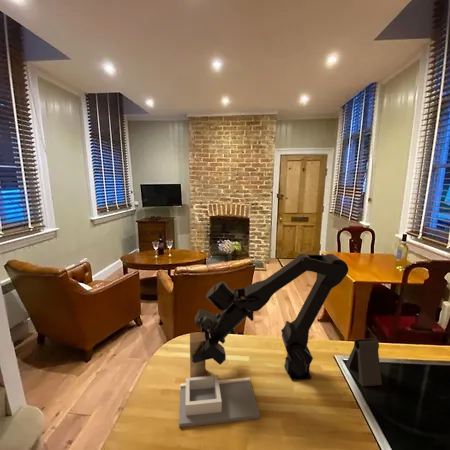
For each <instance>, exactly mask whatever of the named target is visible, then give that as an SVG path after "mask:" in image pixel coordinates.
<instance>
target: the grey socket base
mask: <svg viewBox="0 0 450 450" xmlns="http://www.w3.org/2000/svg"><path fill="white" fill-rule="evenodd" d="M179 389H180V390H179V391H180V395H179V416H178V417H179V418H178V421H179V424H178V425H179V426H178V427H179V428H186V427H196V426H205V425H213V424H222V423H223V424H224V423H231V422H232V423H233V422H239V421H247V420H257V419H261V414H260V411H259V407H258V404H257V401H256V397H255V394H254V391H253V387H252V384H251V379H250V377H239V378H229V379H219V375H218V374H217V375H205V376H204V377H192V378H190V377H186V378H185V382H182V383H180V388H179Z"/></svg>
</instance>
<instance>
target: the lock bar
mask: <svg viewBox="0 0 450 450" xmlns="http://www.w3.org/2000/svg"><path fill="white" fill-rule="evenodd" d="M203 341H204V342H205V343H206V340H205V332H201V331H200V332H189V366H190V367H189V371H190V372H189V374H190V375H189V376H190V377H189V378H192V377H204V376H206V360H204V361H201V362H197V363H194V362H192V360H193V358H194V357H195V356H196V354H197V353H198V352H199V351H200V349H201V348H202V346H203Z"/></svg>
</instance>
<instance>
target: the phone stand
mask: <svg viewBox="0 0 450 450" xmlns="http://www.w3.org/2000/svg"><path fill="white" fill-rule="evenodd" d="M353 343H354V344H353V348H352V349H351V352H350V354H349V356H348V358H347V361H346V363H345V367H346V368H347V367H348V368H347V369H348V370H349V371H350V373H351V374H352V376H354V378H355V379H356V380H357V382H358V384H360V385H361V386H362V387H373V386H374V387H375V386H382V385H383V383H382V375H381V374H382V372H381V364H380V357H379V356H380V355H379V348H380V343H379V341H378V340H377V339H376V338H357V339H356V338H355V339H354V342H353Z"/></svg>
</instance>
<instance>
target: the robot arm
mask: <svg viewBox="0 0 450 450" xmlns="http://www.w3.org/2000/svg"><path fill="white" fill-rule="evenodd" d="M306 272H312V273H316V280H315V282H314V284H313V285H312V287H311V289H310V292H309V293H308V295H307V297H306V299H305V301H304V302H303V305H302V307H301V308H300V310H299V312H298V314H297V316H296V317H295V319H294V320H293V321H289V320H286V321H285V324H284V326H283V328H282V329H281V331H280V332H281V338H282V339H281V340H282V342H283V345H284V348H285V350H286V353H287V354H286V355H287V356H285V362H284V366H283V367H284V370H285V371H286V373H287V374H288V377H289V379H290V380H291V381H301V380H303V381H304V380H311V379H312V374H311V373H310V367H311V363H312V361H313V359H314V357H313V355H312V354H311V351H310V349H309V346H308V343H309V334H310V329H311V328H312V326H313V323H314V322H315V320H316V318H317V316H318V314H319V313H320V311H321V309H322V307H323V305H324V303H325V302H326V300H327V298H328V296H329V294H330V292H331V290H333V288H335V287H336V286H339V285H340V283H342V281H343V280H344V279H345V278H346V276H347V275H348V273H349V267H348V264H347V262H345V261H344V260H342V258H340V257H338V256H337V255H336V254H334V253H325V254H324V255H323V254H307V253H300V254H298V255H297V257H295V258H294V259H293V260H291V261H290V262H288V263H287V264H285V265H284V266H282V267H281V268H280V269H279V270H277V271H276V272H274V273H273V274H271V275H270V276H268V277H267V278H265V279H263V280H259V281H256V282H254V283H251V284H249V285H247V286H246V287H242V288H235V289H234V288H233V290H232V289H231V288H230V287H229V286H228V285H227V283H226V282H225V281H224V280H221V281H220V282H217V283H216V284H214V285H213V286H211V288H210V289H209V290H208V291H207V293H206V295H205V297H206V298H207V300H208V301H210V303H212V304H213V305H214V306H215V307H216V308H217V309H218V310H219V312H216V314H214V313H212V312H211V311H207V310H205V309H202V308H199V309H198V311H197V313H196V315H195V317H194V324H195V326H197V327H198V328H200V332H205V340H206V343H205V342H204V341H203V346H202V348H201V349H200V351H199V352H198V353H197V354H196V356H195V357H194V358H193V360H192V362H194V363H197V362H201V361H204V360H205V361H207V360H213V361H214V362H216V363H217V364H219V365H222V364H223V363H224V362H225V361H227V360H226V356H227V355H226V350H225V347H224V346H222V344H223V345H224V343H225V342H226V339H225V338H226V337H228V335H230V334H232V335H234V334H235V333H236V330H235V328H236V327H238V326H239V325H240V324H241V323H242V322H243V321H244V320H245V319H246V318H248V319H249V320H250V321H251V322H253V321H254V313H256V312H258V311H260V310H261V309H262V308H263V307H265V305H267V304H268V303H269V301H270V299H271V298H272V296H273V295H274V294H276V293H277V292H278V291H280V290H281V289H283V288H284V287H285V286H287V285H288V284H290V283H292V282H293V281H294V280H296V279H297V278H298V277H300V276H301V275H303V274H304V273H306ZM241 297H242V298H241ZM221 311H222V312H221ZM219 342H220V343H219Z"/></svg>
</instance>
